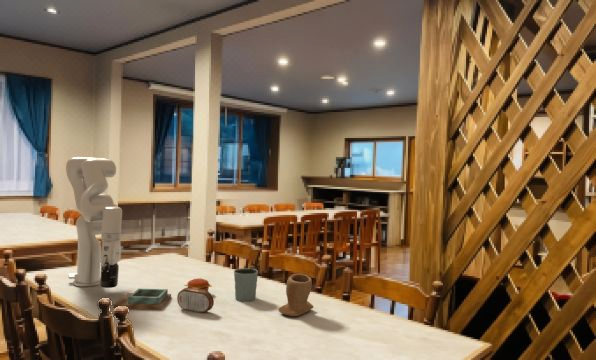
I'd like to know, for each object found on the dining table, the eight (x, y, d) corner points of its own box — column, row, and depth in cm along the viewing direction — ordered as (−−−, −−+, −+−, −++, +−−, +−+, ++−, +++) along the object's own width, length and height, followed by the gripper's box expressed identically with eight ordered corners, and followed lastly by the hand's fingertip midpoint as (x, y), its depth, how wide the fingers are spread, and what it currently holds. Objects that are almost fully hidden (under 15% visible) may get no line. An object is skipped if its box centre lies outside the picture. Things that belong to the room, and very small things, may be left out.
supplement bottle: (111, 289, 176) (112, 260, 175) (96, 287, 177) (97, 258, 177) (121, 284, 183) (122, 256, 182) (106, 282, 184) (108, 254, 183)
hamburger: (196, 298, 181) (196, 283, 181) (182, 294, 187) (182, 278, 187) (213, 294, 188) (214, 279, 188) (200, 289, 194) (200, 275, 194)
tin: (213, 312, 165) (214, 290, 165) (209, 315, 162) (210, 292, 162) (180, 307, 170) (181, 285, 170) (175, 309, 167) (176, 287, 167)
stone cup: (299, 321, 159) (300, 281, 158) (274, 314, 166) (275, 275, 165) (321, 311, 171) (322, 273, 171) (297, 305, 178) (298, 269, 178)
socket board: (112, 308, 164) (113, 298, 164) (127, 296, 180) (127, 286, 180) (160, 309, 165) (160, 299, 165) (171, 297, 181) (171, 288, 181)
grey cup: (261, 297, 186) (262, 270, 186) (249, 303, 177) (250, 274, 177) (241, 294, 190) (242, 267, 190) (228, 299, 181) (229, 271, 181)
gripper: (112, 241, 170) (110, 285, 171) (127, 233, 188) (125, 273, 189) (93, 239, 170) (90, 284, 171) (110, 232, 187) (108, 272, 188)
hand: (109, 278), depth 180 cm, fingers closed on supplement bottle, 6 cm apart
